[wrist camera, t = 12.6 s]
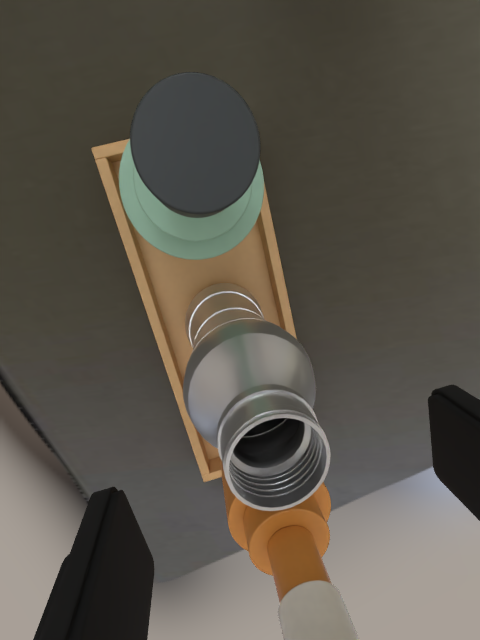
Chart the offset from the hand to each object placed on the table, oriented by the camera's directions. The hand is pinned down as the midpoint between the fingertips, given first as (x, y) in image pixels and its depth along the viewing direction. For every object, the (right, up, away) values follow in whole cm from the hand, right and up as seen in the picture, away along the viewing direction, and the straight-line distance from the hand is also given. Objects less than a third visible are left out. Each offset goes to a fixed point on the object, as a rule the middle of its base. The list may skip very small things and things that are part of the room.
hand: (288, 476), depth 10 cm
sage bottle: (-5, +14, +17) cm, 23 cm away
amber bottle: (-1, -4, +23) cm, 23 cm away
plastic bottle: (-3, +5, +20) cm, 21 cm away
